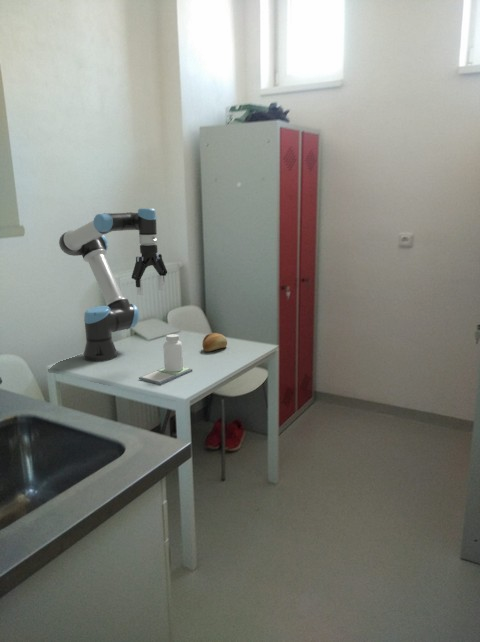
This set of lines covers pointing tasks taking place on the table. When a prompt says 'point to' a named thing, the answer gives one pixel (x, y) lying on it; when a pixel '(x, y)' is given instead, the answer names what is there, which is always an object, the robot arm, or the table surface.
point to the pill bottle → (173, 353)
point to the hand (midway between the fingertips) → (150, 292)
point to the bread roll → (214, 342)
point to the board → (163, 375)
